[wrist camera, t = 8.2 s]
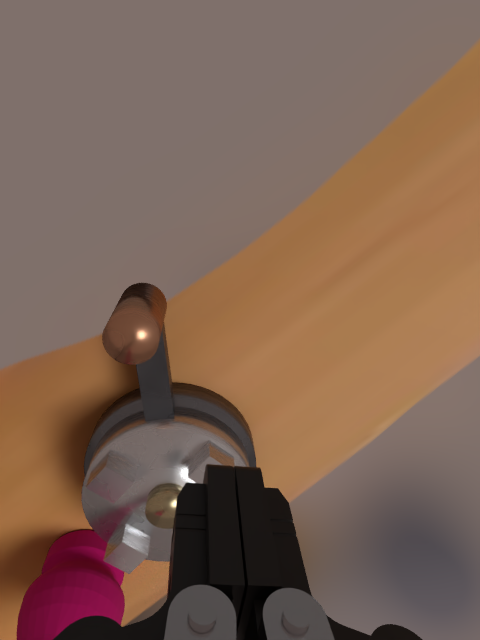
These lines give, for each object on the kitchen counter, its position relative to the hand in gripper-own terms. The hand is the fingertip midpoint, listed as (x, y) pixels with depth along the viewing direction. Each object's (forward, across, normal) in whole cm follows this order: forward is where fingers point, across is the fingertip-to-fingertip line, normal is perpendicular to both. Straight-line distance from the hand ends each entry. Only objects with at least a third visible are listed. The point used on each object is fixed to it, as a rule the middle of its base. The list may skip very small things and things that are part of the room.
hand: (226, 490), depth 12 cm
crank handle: (+15, +2, +9) cm, 18 cm away
